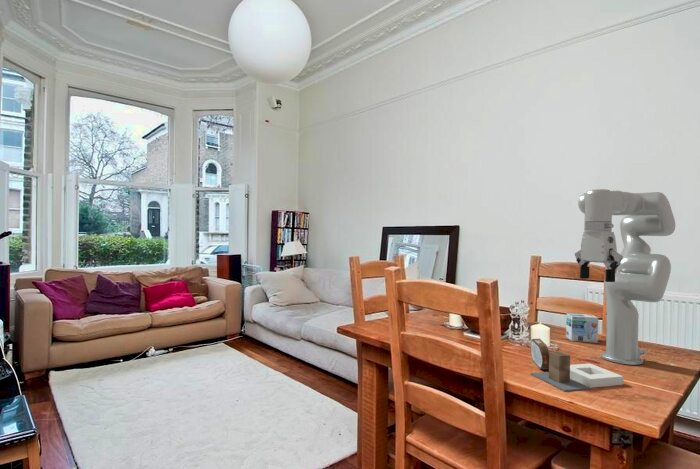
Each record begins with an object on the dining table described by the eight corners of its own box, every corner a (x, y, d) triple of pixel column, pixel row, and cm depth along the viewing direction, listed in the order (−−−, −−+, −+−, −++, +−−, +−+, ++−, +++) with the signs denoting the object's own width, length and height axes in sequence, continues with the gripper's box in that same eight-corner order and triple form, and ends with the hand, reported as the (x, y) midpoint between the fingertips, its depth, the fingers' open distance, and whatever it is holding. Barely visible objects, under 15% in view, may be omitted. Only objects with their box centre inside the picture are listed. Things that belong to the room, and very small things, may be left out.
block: (559, 377, 121) (559, 351, 122) (569, 381, 118) (570, 355, 118) (548, 378, 120) (549, 352, 120) (558, 382, 117) (559, 356, 117)
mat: (554, 372, 127) (554, 371, 127) (590, 389, 113) (590, 387, 113) (530, 374, 125) (530, 373, 125) (564, 391, 111) (564, 390, 111)
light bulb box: (571, 341, 167) (571, 316, 167) (565, 337, 173) (565, 313, 173) (598, 342, 165) (599, 317, 165) (591, 338, 171) (591, 314, 172)
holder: (589, 371, 129) (590, 363, 129) (623, 384, 117) (623, 376, 117) (559, 373, 126) (559, 365, 126) (590, 387, 114) (590, 379, 114)
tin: (551, 373, 126) (551, 347, 126) (540, 372, 127) (541, 346, 127) (538, 359, 141) (538, 336, 141) (529, 358, 141) (529, 335, 141)
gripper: (631, 227, 120) (630, 283, 120) (585, 228, 136) (584, 277, 136) (612, 226, 118) (611, 283, 118) (567, 227, 135) (566, 277, 135)
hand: (596, 280), depth 127 cm, fingers open, 9 cm apart
